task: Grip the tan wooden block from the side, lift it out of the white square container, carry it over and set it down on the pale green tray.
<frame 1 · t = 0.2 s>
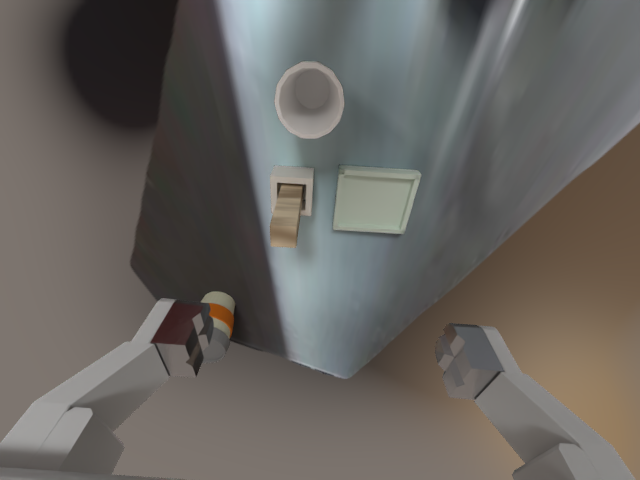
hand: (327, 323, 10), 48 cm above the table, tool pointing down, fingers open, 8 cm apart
reusable coffee cup: (219, 301, 80), on the table
tan wooden block: (293, 186, 57), point 1 cm above the table, touching white square container
white square container: (293, 184, 58), on the table
tray: (372, 198, 60), on the table
foam cup: (312, 89, 48), on the table
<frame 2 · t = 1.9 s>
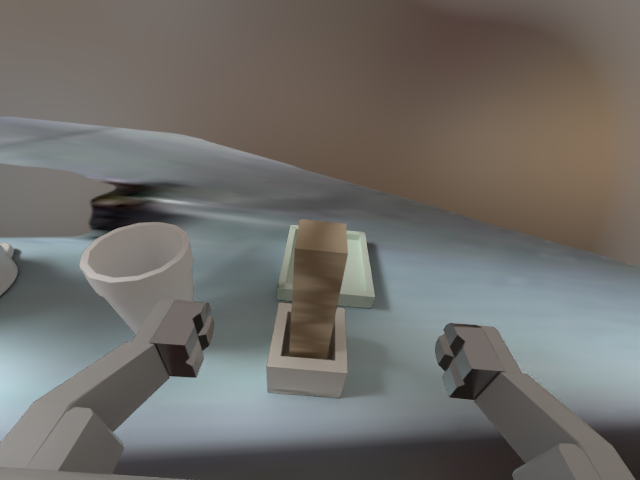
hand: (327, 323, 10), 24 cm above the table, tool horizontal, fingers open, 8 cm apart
tan wooden block: (307, 356, 33), point 1 cm above the table, touching white square container
white square container: (306, 360, 34), on the table
tray: (325, 267, 47), on the table
foam cup: (168, 327, 36), on the table
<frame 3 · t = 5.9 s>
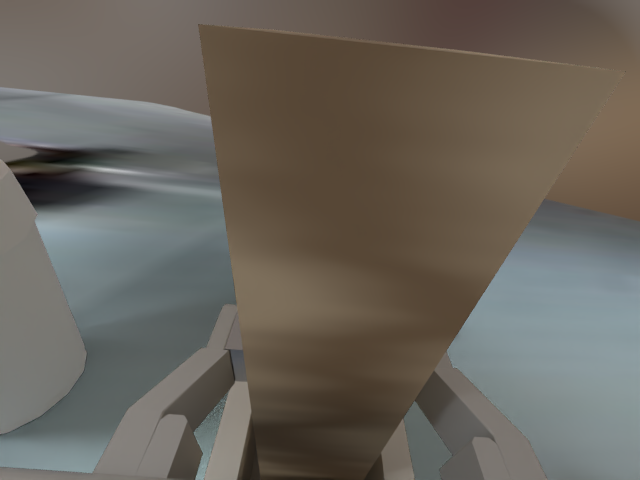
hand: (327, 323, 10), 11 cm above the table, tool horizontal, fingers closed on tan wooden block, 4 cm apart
tan wooden block: (308, 452, 15), point 1 cm above the table, touching white square container, gripper
white square container: (307, 458, 15), on the table
foam cup: (26, 381, 18), on the table
when the fingers open (12 cm above the table, at t = 11.5 s): tan wooden block drops 1 cm, resting on tray.
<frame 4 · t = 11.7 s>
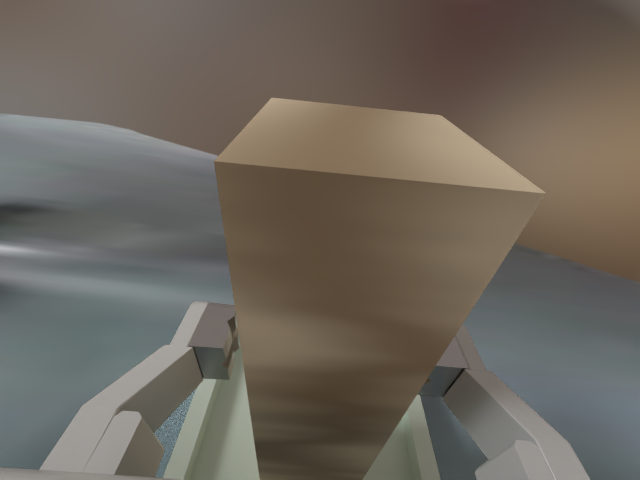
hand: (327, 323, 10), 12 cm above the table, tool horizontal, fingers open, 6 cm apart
tan wooden block: (305, 460, 16), point 1 cm above the table, touching tray
tray: (305, 466, 16), on the table
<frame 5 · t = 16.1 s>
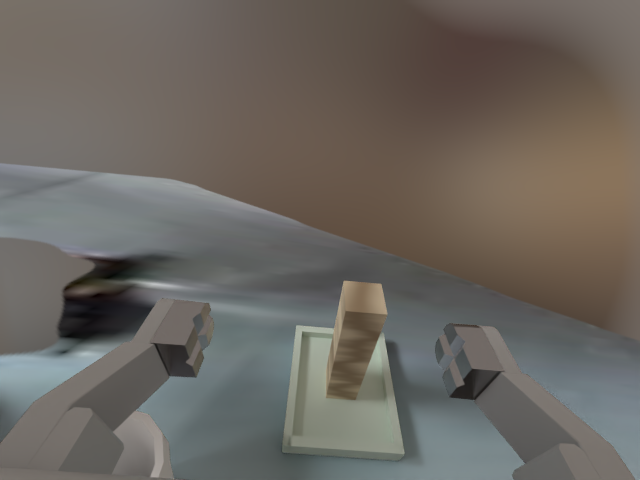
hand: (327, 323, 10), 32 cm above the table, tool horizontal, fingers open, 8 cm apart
tan wooden block: (340, 383, 39), point 1 cm above the table, touching tray
tray: (339, 387, 39), on the table
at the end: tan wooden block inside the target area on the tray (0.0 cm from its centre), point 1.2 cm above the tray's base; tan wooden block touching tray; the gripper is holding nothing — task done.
